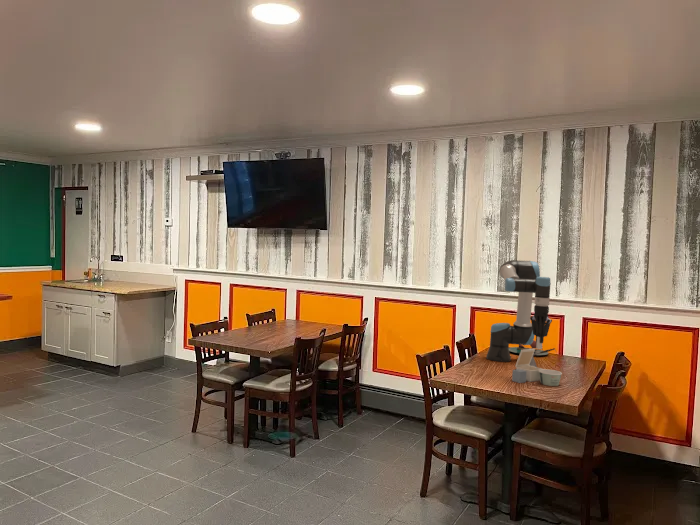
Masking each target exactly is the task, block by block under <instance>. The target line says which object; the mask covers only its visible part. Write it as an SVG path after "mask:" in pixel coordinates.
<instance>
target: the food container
mask: <svg viewBox="0 0 700 525" xmlns="http://www.w3.org/2000/svg"><path fill="white" fill-rule="evenodd" d="M538 371H539V374H540V381H539V382H540V383H539V384H542V385H544V386H550V387H558V386H559V385H560V381H561V377H562V375H563V373H562V372H563V371H562V372H561V371H559V370H556V369H555V370H554V369H549V368H548V369H546V368H542V369H541V370H538Z"/></svg>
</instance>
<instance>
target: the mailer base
mask: <svg viewBox="0 0 700 525" xmlns="http://www.w3.org/2000/svg"><path fill="white" fill-rule="evenodd" d="M516 369H520V370H524V371H526V382H530V383H532V382H533V383H534V382H540V374H539V371H538V370H541V369H543V368H541V367H538V366H537V367H534V366H530V365H529V366H520V367H515V370H516Z"/></svg>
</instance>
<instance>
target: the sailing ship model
mask: <svg viewBox="0 0 700 525" xmlns="http://www.w3.org/2000/svg"><path fill="white" fill-rule="evenodd" d="M536 346H537V342H536V340H535V339H534V340H533V342H532V344H531V345H529V347H528V346H525V345H518V346H513V347H509V352H512V353H515V354H520V352H521V350H522V348H528V349H535V351H534V354H535V353H539V352H542V351H544V350H543V349H536ZM542 348H543V345H542ZM548 354H550V353H549V352H545V353H540V354H537V355H536V356H545V355H548Z"/></svg>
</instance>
